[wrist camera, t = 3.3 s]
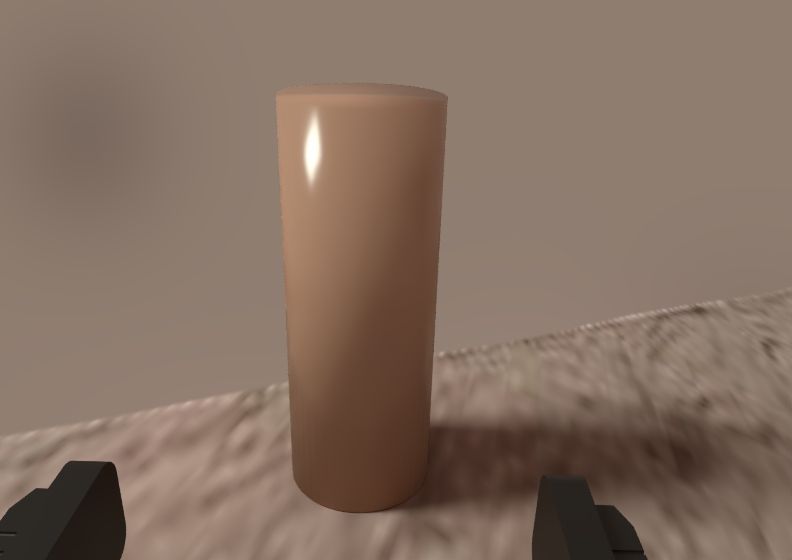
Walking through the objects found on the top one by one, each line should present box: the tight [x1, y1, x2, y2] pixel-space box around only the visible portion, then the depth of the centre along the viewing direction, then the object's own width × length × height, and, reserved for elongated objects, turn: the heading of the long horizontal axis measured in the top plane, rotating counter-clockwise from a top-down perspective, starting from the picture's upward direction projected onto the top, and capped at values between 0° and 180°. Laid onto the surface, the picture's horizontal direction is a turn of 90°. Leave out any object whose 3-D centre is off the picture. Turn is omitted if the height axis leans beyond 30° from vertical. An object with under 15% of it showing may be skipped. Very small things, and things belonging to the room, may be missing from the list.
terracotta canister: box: [276, 83, 448, 513], centre depth 23 cm, size 5×5×14 cm
